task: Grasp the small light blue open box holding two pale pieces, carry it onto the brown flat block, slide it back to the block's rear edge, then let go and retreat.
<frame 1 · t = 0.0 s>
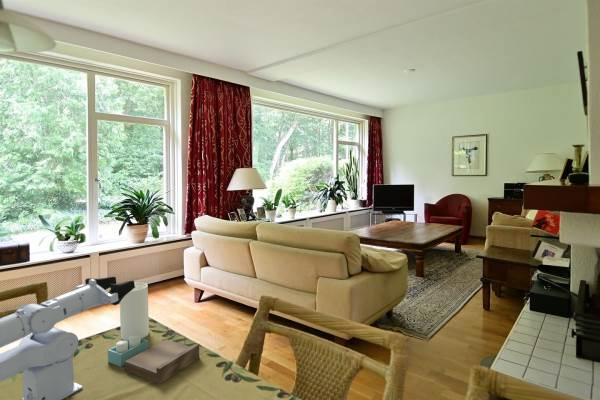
hand: (124, 282, 100), 22 cm above the table, tool horizontal, fingers open, 7 cm apart
light blue open box: (128, 356, 102), on the table
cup: (135, 335, 115), on the table
brown flat block: (163, 363, 98), on the table
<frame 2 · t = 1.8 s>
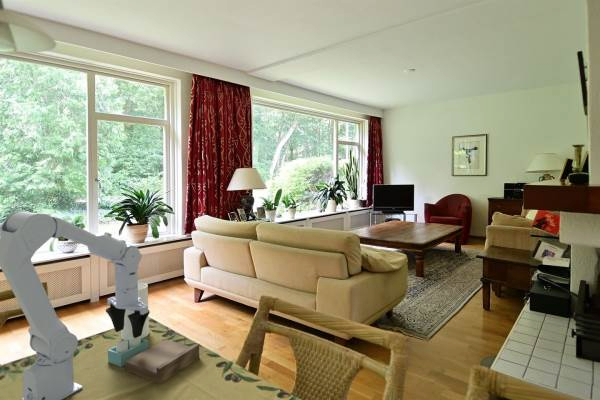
hand: (128, 333, 101), 7 cm above the table, tool pointing down, fingers open, 7 cm apart
nothing on the table moved.
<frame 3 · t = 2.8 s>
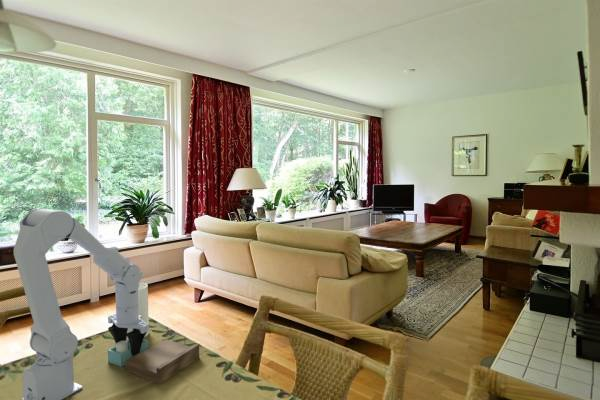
hand: (128, 351, 102), 2 cm above the table, tool pointing down, fingers closed on light blue open box, 5 cm apart
light blue open box: (128, 356, 102), on the table, touching gripper
everything else where it was.
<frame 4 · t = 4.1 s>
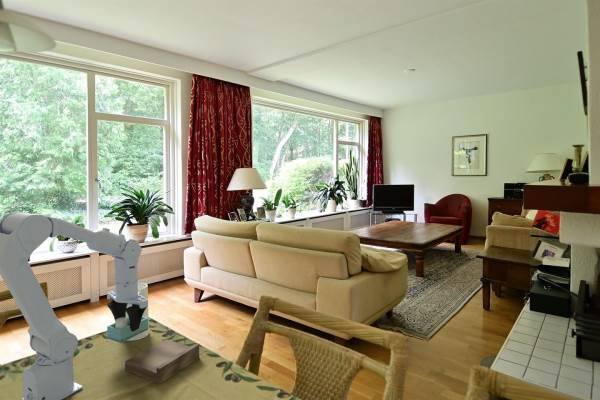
hand: (127, 327, 101), 9 cm above the table, tool pointing down, fingers closed on light blue open box, 5 cm apart
light blue open box: (128, 333, 101), point 7 cm above the table, touching gripper
everything else where it was.
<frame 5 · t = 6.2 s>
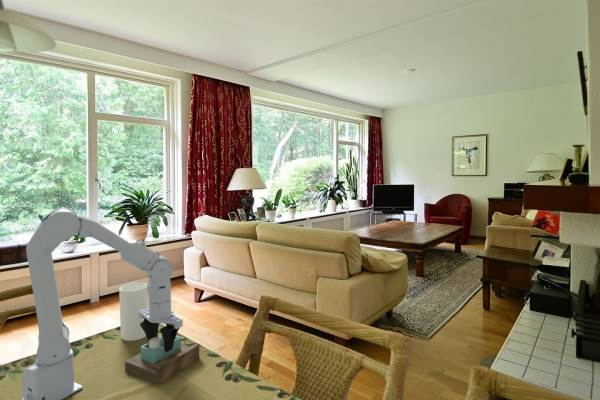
hand: (160, 347, 98), 4 cm above the table, tool pointing down, fingers closed on light blue open box, 5 cm apart
light blue open box: (161, 354, 99), point 3 cm above the table, touching gripper
everything else where it was.
when the fingers open (4 cm above the table, at t = 7.2 s): light blue open box stays where it is, resting on brown flat block.
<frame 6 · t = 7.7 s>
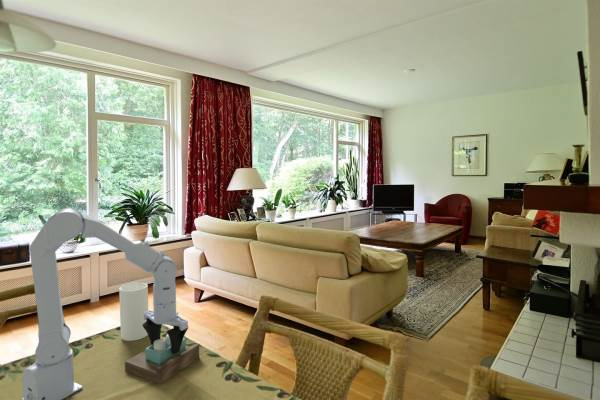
hand: (165, 349, 98), 4 cm above the table, tool pointing down, fingers open, 7 cm apart
light blue open box: (166, 355, 98), point 2 cm above the table, touching brown flat block
everything else where it was.
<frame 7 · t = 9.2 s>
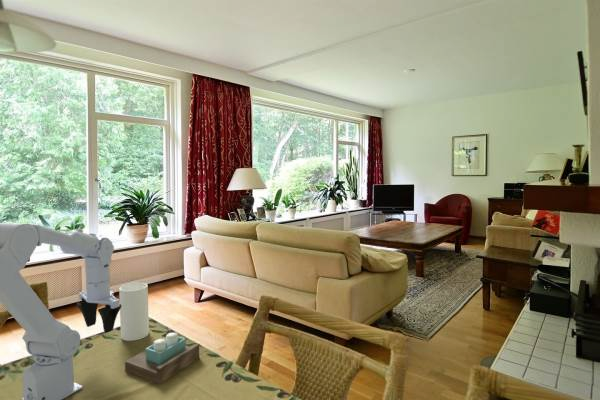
hand: (99, 328, 99), 9 cm above the table, tool pointing down, fingers open, 7 cm apart
nothing on the table moved.
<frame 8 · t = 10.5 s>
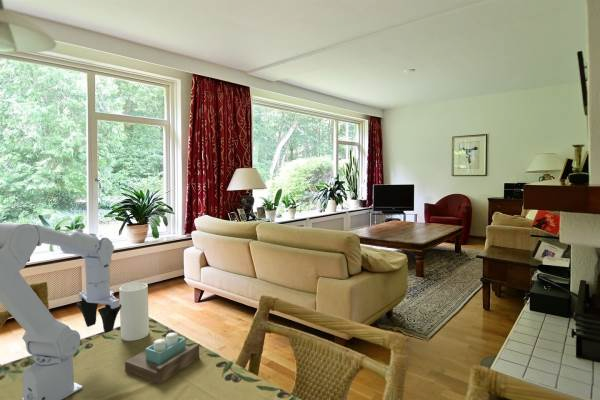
hand: (99, 328, 99), 9 cm above the table, tool pointing down, fingers open, 7 cm apart
nothing on the table moved.
at the end: light blue open box 0.1 cm from the target spot on the brown flat block, point 2.5 cm above the brown flat block's base; light blue open box tilted 0°; the gripper is holding nothing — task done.
